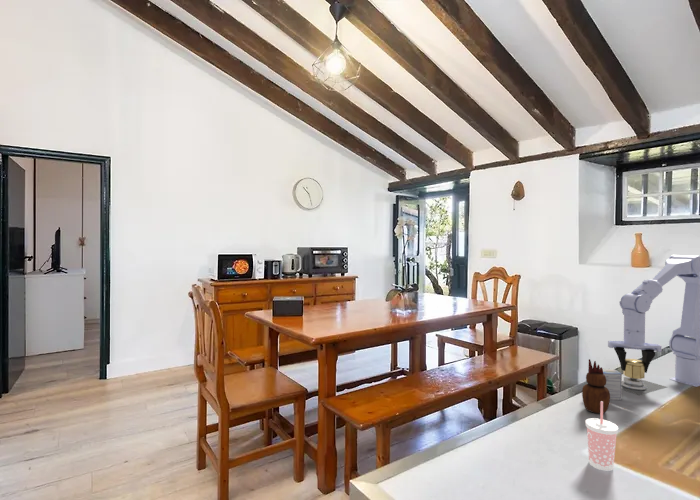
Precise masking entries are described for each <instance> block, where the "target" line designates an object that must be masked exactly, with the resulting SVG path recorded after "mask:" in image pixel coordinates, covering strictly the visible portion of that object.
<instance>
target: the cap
mask: <svg viewBox="0 0 700 500" xmlns="http://www.w3.org/2000/svg"><path fill="white" fill-rule="evenodd" d="M625 365H626V369H625V371H623V370H622V371H623V373H622V375H624V377H630V378H636V379H642V380H644V379H645V375H646V373H645V366H644V362H643V361H642V360H640V359H635V358H626V359H625Z"/></svg>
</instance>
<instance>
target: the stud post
mask: <svg viewBox="0 0 700 500" xmlns="http://www.w3.org/2000/svg"><path fill="white" fill-rule="evenodd" d="M643 380H644V379H636V378H630V377H627V376H624V377H623V380H622V387H624V388H627V389H631V390H637V391H644V390H646V389H647V387H646V385H644V381H643Z"/></svg>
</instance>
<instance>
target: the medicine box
mask: <svg viewBox="0 0 700 500" xmlns="http://www.w3.org/2000/svg"><path fill="white" fill-rule="evenodd" d="M602 369H603V374H604V375H605V377H606V385H605V387H606V388H607V389H608V390H609V392H610V400H616V401H617V400H618V401H620V400H621V401H622V390H621V389H622V381H623V376H622V375H623V373H621V372H620V371H618V370H617V369H615V368H602ZM588 372H589V368H588ZM588 372H587V373H588Z"/></svg>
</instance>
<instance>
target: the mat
mask: <svg viewBox="0 0 700 500" xmlns="http://www.w3.org/2000/svg"><path fill="white" fill-rule="evenodd" d="M642 380H643V381H644V385H646V387H647V389H646V390H644V391H637V390H631V389H627V388H624V387H622V389H621V391H625V392H628V393H631V394H634V395H637V396H641V395H645V394H648V393H649V394H650V393H651V392H655V391H659V390H663V389H666V388H667V386H665V385H662V384H658V383H655V382H652V381H648V380H645V379H642Z"/></svg>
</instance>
